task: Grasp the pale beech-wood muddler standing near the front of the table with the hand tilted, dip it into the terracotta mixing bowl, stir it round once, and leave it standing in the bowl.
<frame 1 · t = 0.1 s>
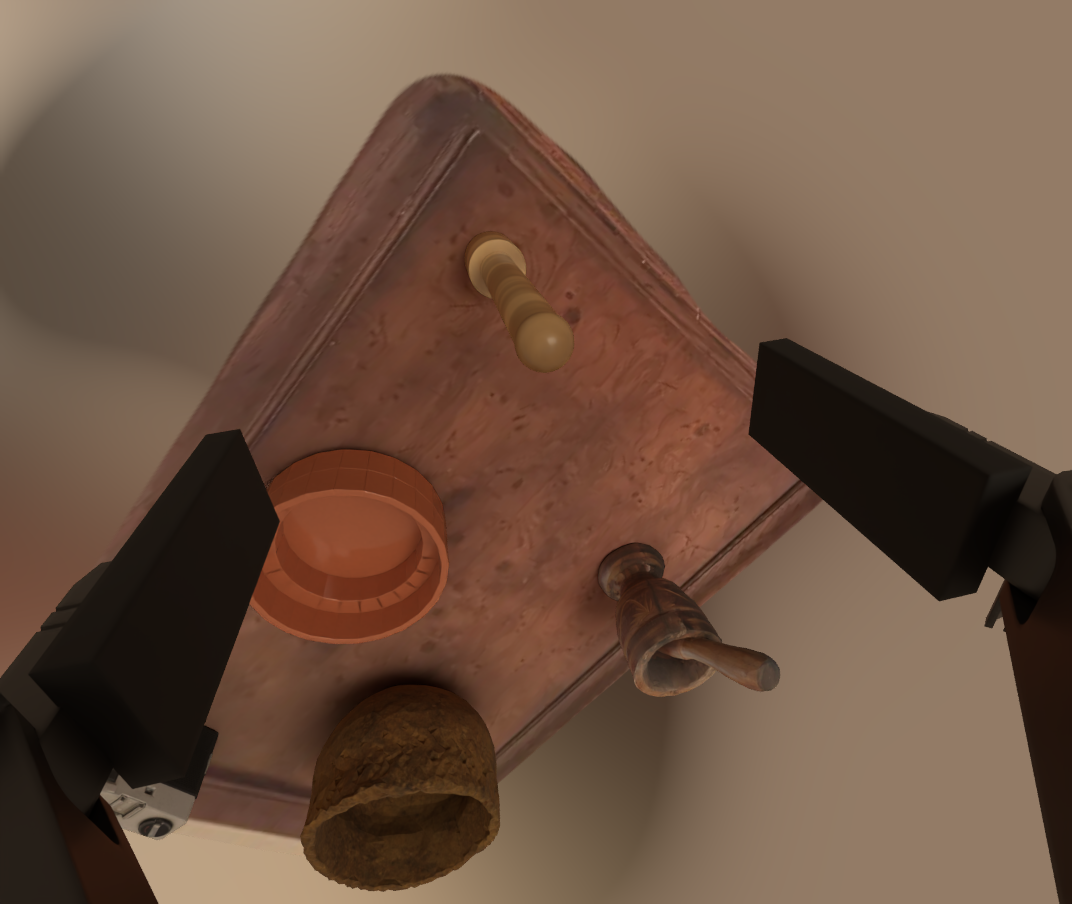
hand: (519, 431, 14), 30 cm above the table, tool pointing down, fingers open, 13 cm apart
muddler: (491, 259, 40), on the table
mortar and pestle: (634, 555, 58), on the table
bowl: (407, 702, 63), on the table
mixing bowl: (355, 521, 49), on the table
camera: (140, 720, 57), on the table
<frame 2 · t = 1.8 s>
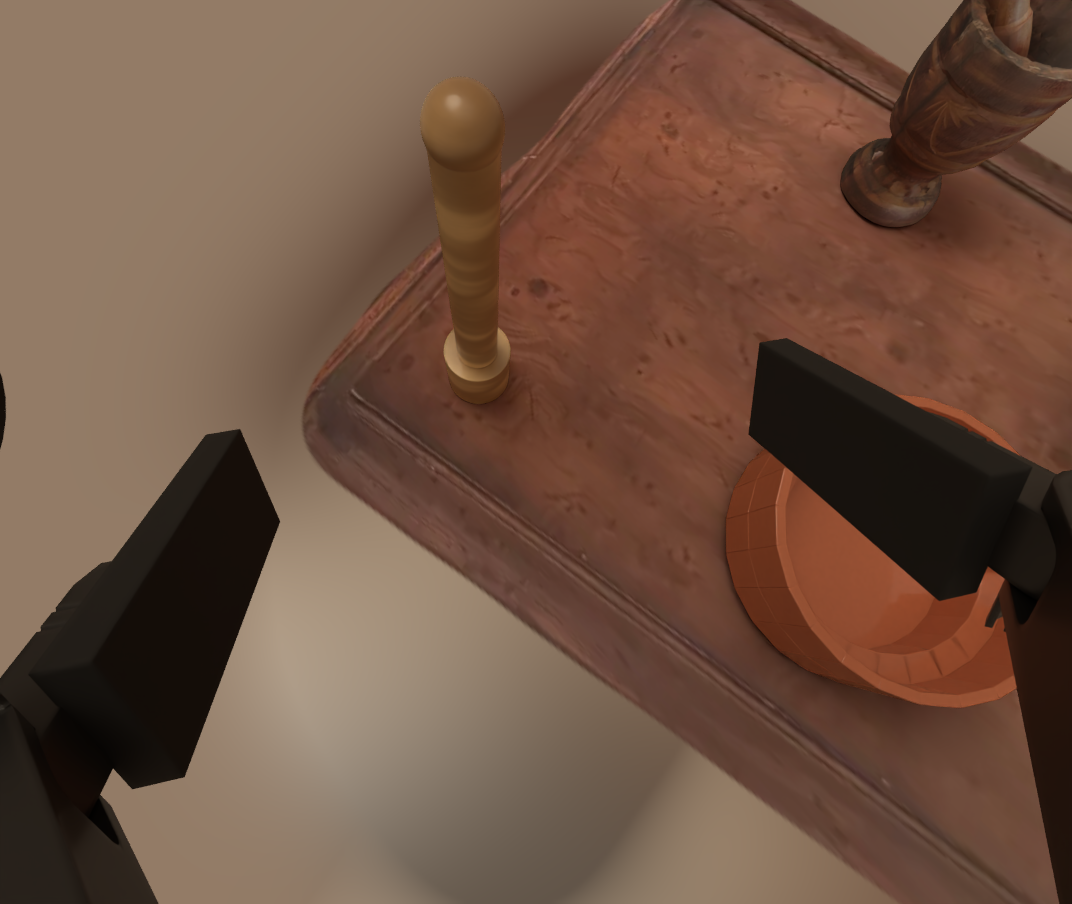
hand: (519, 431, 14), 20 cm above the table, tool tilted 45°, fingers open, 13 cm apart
muddler: (478, 375, 36), on the table
mortar and pestle: (861, 187, 43), on the table
mixing bowl: (840, 549, 35), on the table
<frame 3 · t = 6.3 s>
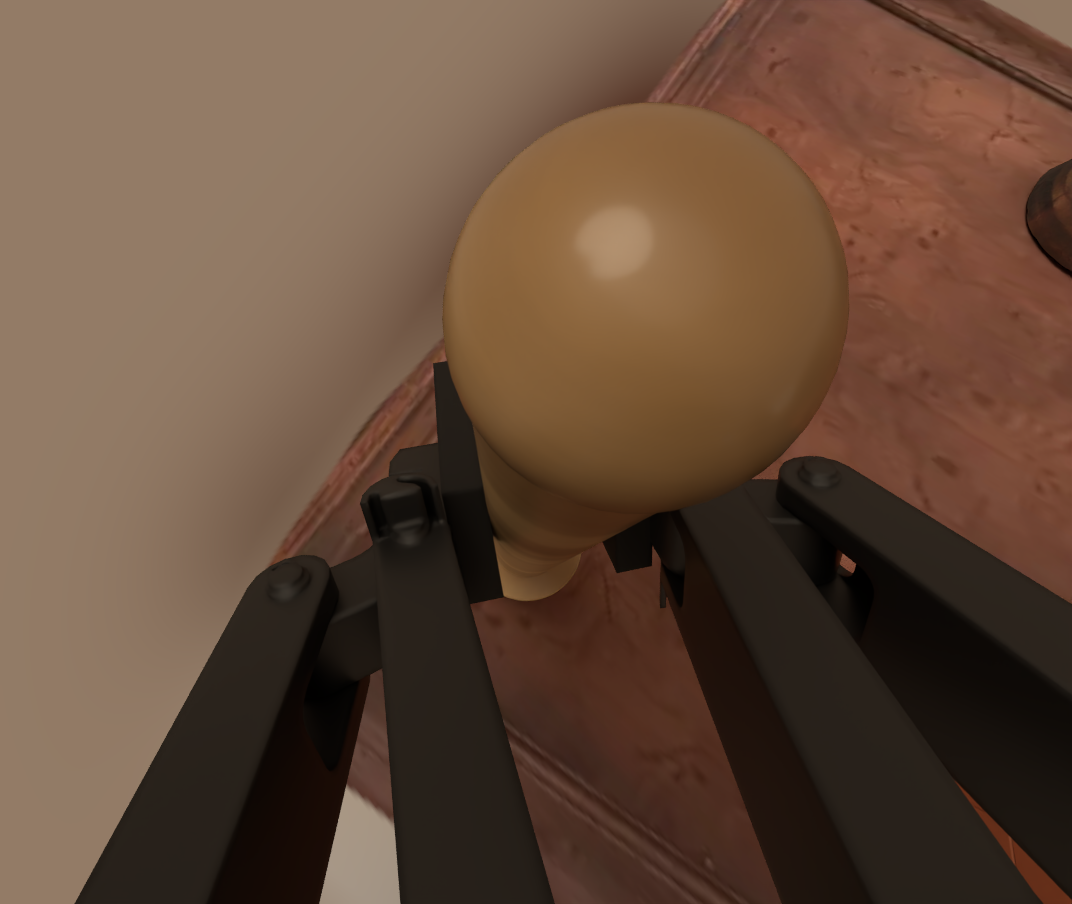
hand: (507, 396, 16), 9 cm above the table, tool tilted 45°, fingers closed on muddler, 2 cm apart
muddler: (522, 551, 23), on the table, touching gripper
mortar and pestle: (1054, 224, 30), on the table
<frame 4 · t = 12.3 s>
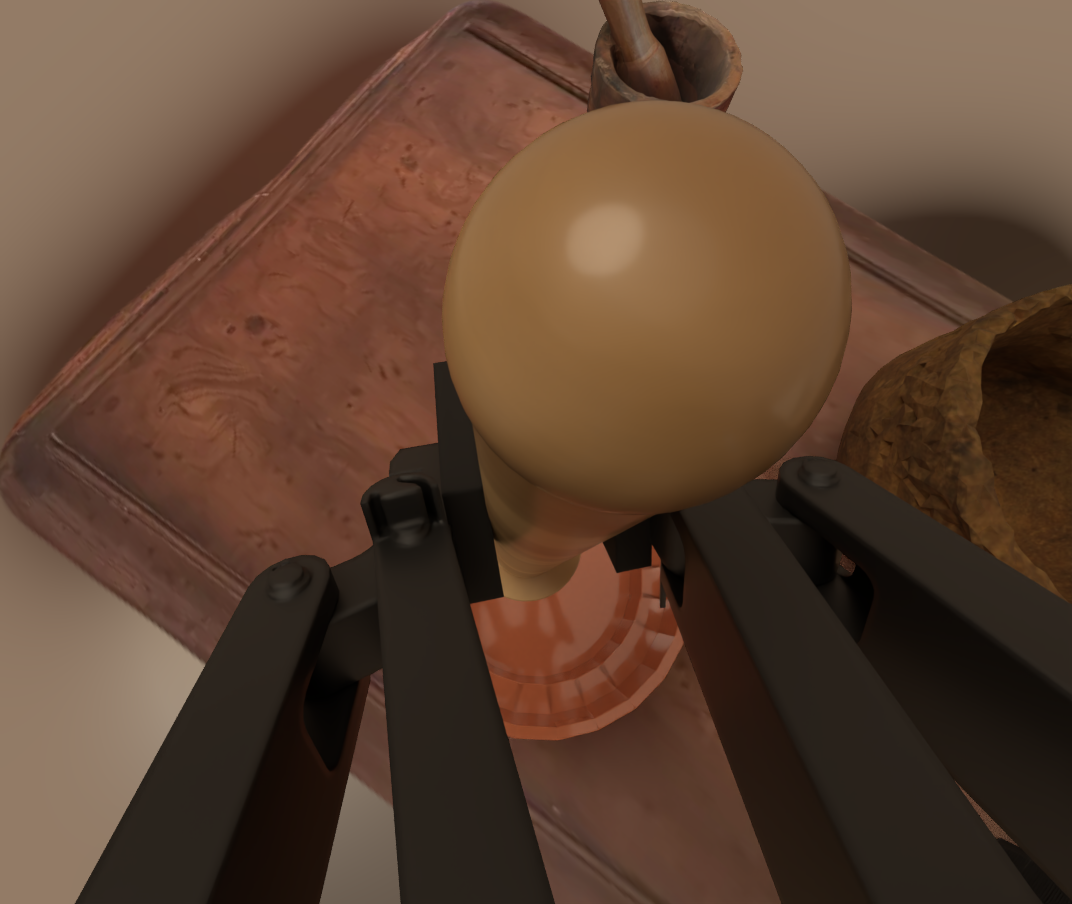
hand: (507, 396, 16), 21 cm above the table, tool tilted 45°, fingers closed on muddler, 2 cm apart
muddler: (522, 552, 23), point 13 cm above the table, touching gripper
mortar and pestle: (601, 211, 43), on the table
bowl: (905, 508, 38), on the table
mixing bowl: (536, 576, 35), on the table
when the fingers open (9 cm above the table, at t = 18.4 s): muddler stays where it is, resting on mixing bowl.
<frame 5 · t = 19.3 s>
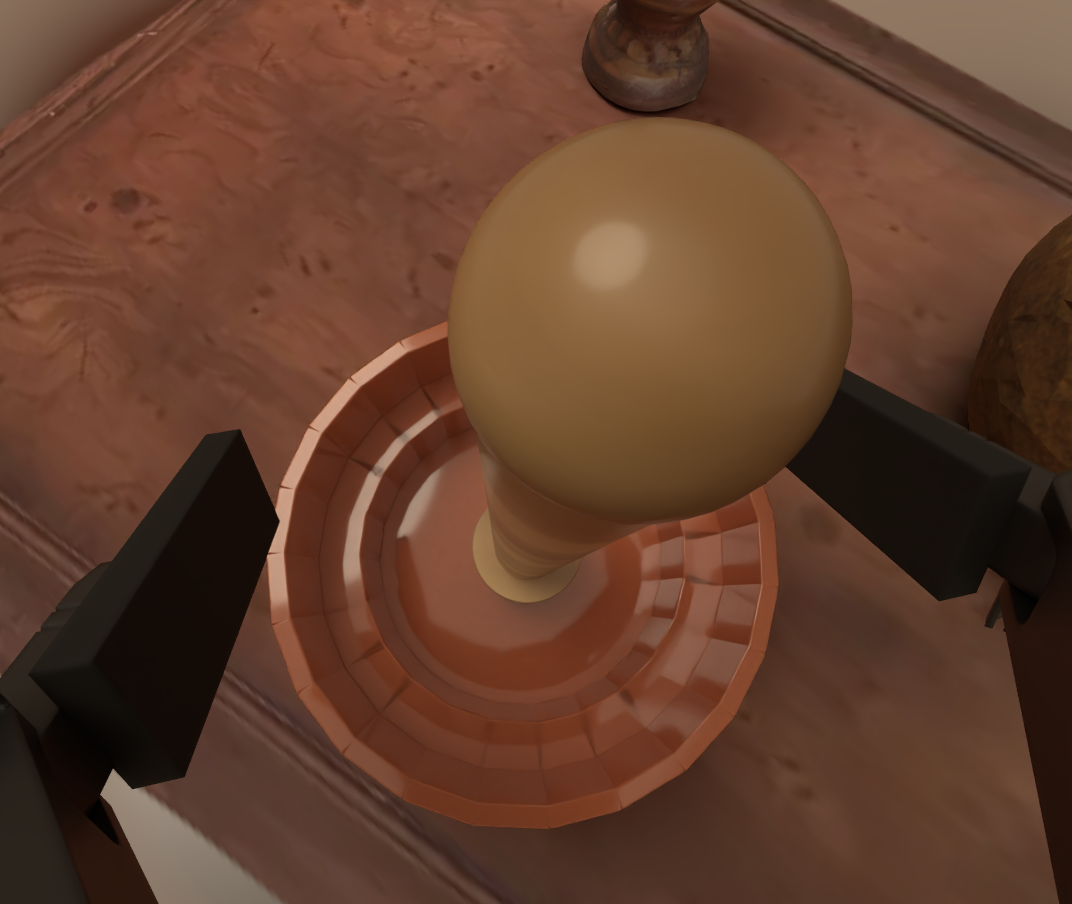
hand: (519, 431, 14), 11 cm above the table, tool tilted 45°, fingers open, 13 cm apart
muddler: (523, 553, 23), point 1 cm above the table, touching mixing bowl
mortar and pestle: (613, 64, 32), on the table
bowl: (1050, 459, 27), on the table
mixing bowl: (522, 553, 24), on the table
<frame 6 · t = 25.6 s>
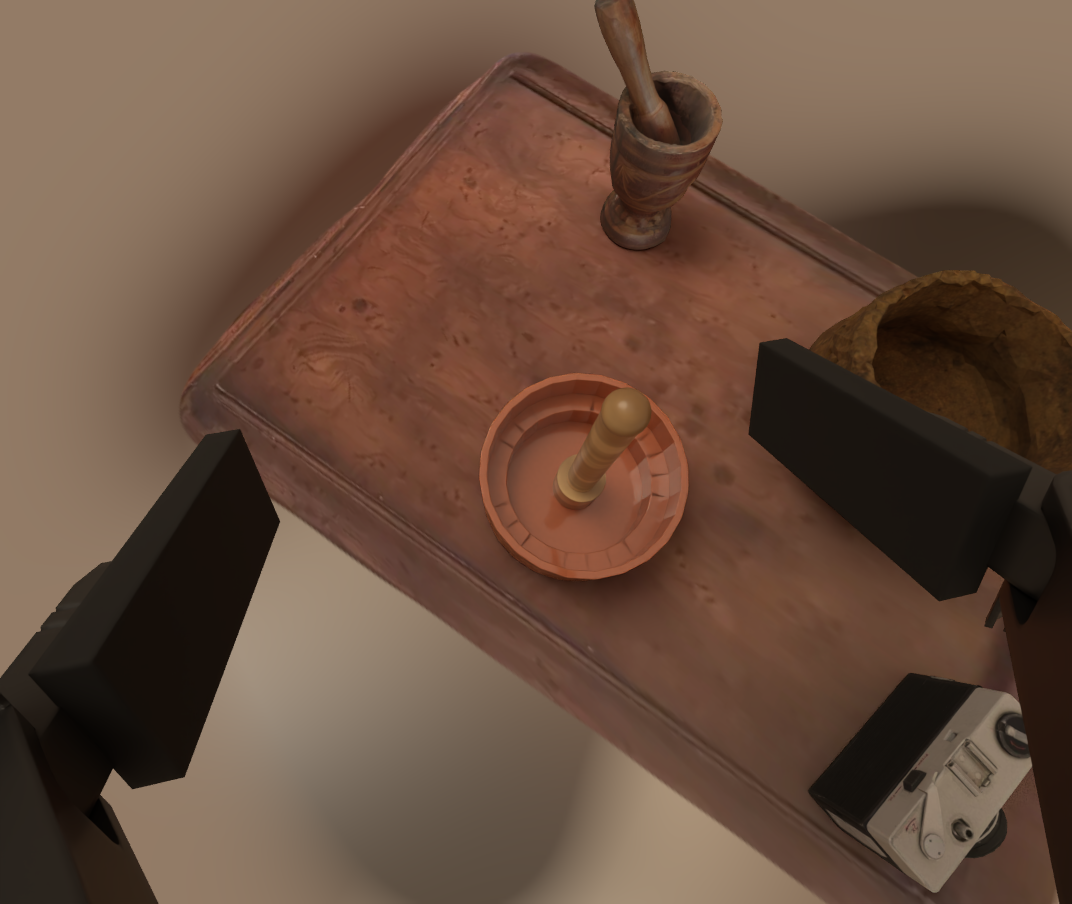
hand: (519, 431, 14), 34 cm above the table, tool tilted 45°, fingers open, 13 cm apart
muddler: (575, 487, 47), point 1 cm above the table, touching mixing bowl
mortar and pestle: (618, 219, 56), on the table
bowl: (848, 442, 51), on the table
mixing bowl: (573, 488, 48), on the table
camera: (888, 766, 44), on the table
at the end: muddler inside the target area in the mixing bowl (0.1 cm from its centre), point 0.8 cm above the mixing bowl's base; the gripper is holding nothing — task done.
